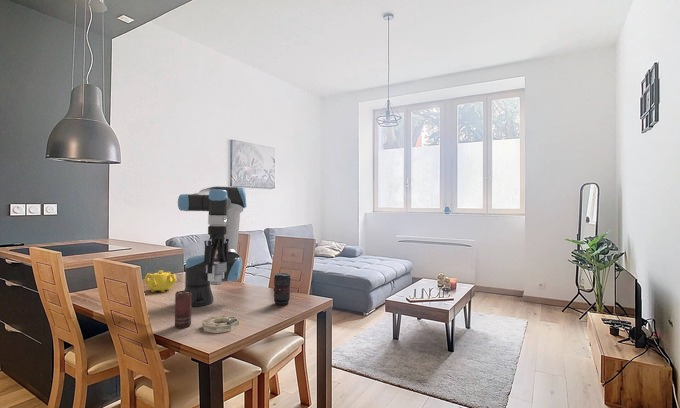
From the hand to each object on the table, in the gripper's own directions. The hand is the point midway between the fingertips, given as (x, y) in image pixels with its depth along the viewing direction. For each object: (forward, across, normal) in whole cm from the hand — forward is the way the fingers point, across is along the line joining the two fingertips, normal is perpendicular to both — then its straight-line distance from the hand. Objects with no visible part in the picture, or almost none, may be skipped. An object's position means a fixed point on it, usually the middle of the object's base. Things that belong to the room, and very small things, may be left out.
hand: (216, 279), depth 154 cm
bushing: (+2, 0, 0) cm, 2 cm away
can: (+18, -10, +8) cm, 22 cm away
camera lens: (+17, +34, -14) cm, 40 cm away
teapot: (+16, +31, +60) cm, 69 cm away
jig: (+18, -4, -6) cm, 19 cm away
